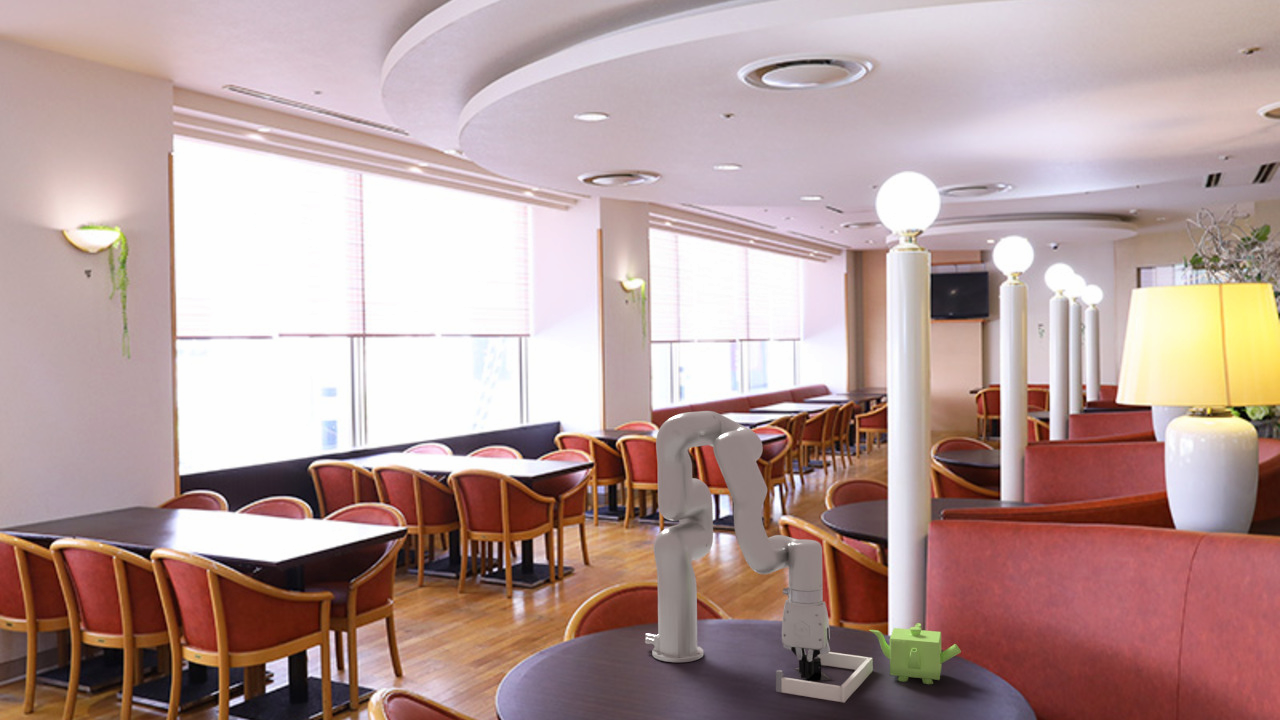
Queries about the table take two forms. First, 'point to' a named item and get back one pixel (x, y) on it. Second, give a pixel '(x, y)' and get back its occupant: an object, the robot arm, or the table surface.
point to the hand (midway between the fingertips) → (806, 676)
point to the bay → (826, 690)
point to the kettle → (915, 653)
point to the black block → (816, 671)
